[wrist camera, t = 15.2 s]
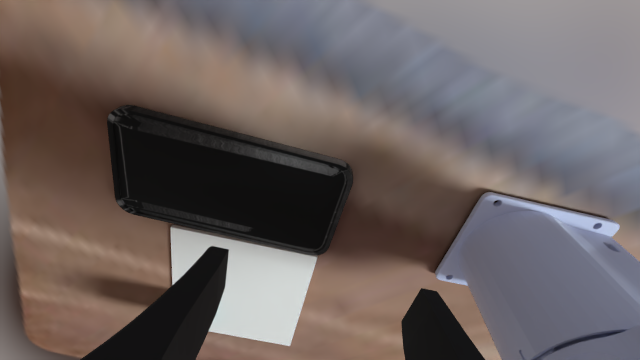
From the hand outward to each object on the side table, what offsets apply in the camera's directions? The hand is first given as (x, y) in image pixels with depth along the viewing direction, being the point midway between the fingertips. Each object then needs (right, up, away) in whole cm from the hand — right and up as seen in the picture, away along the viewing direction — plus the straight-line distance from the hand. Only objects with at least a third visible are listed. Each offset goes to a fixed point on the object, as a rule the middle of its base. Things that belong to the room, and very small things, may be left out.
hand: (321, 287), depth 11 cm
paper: (-7, -6, +15) cm, 17 cm away
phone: (-6, +4, +10) cm, 12 cm away
